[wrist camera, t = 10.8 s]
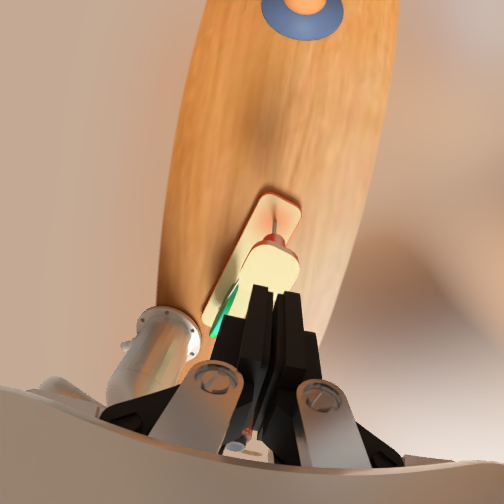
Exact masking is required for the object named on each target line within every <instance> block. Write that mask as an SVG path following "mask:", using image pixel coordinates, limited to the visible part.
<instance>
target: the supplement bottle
mask: <svg viewBox="0 0 504 504" xmlns="http://www.w3.org/2000/svg"><path fill="white" fill-rule="evenodd" d="M253 415H254V411H253V414H252V417H251V419H250V422H249V425H248V428H247V429H244V428H243V431H242V434H241V437H240V438H238V439H236V440H234V441H232V442H230V443H228V444H227V445H226V449H228V450H230V451H234V452H240V451H243V450H244V449H245V446H246V443H248V442H249V441H250V440H251V437H252V431H253V430H252V424H253Z"/></svg>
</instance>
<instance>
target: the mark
mask: <svg viewBox="0 0 504 504" xmlns="http://www.w3.org/2000/svg"><path fill="white" fill-rule="evenodd" d="M261 6H262V12H263V15H264V18H265V19H266V21H267V23H268V24H269V25H270V26H271V27H272V28H273V29H274V30H276V31H277V32H279V33H280V34H282V35H284V36H287V37H289V38H292V39H297V40H317V39H321V38H324V37H326V36H328V35H330V34H331V33H333V32H334V31H335V30H336V29H337V28H338V27H339V25H340V24H341V22H342V19H343V5H342V2H341V0H326V4H325V6H324V7H323V8H322V9H321V10H320V11H319V12H317V13H315V14H311V15H302V14H298V13H295V12H293V11H292V10H290V9H289V8H288V7H287V5H286V4H285V2H284V0H262V5H261Z"/></svg>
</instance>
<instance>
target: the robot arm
mask: <svg viewBox="0 0 504 504" xmlns="http://www.w3.org/2000/svg"><path fill="white" fill-rule="evenodd" d="M201 343H202V337H201V333H200V330H199V328H198V326H197V325H196V323H195V322H194V321H193V320H192V319H191V318H190V317H189V316H188V315H186V314H185V313H184V312H182V311H180V310H178V309H175V308H172V307H168V306H155V307H151V308H149V309H147V310H146V311H145V312H144V313H143V314H142V315H141V316H140V318H139V319H138V322H137V336H136V337H135V338H133V339H132V341H126V342H122V343H121V349H122V351H124V352H127V353H126V355H125V356H124V358H123V359H122V361H121V362H120V364H119V366H118V367H117V369H116V370H115V372H114V373H113V375H112V376H111V378H110V380H109V382H108V385H107V388H106V403H107V407H106V406H104V405H102V404H101V403H99V402H98V401H96V400H95V399H93V398H92V397H90V396H89V395H87V394H86V393H84V392H83V391H81V390H80V389H79V388H77V387H76V386H74V385H73V384H71V383H70V382H68V381H67V380H65V379H63V378H61V377H50V378H48V379H47V380H45V381H44V382H43V383H42V384H41V385H40V386H39V388H38V389H31V390H27V391H23V390H20V389H15V388H9V387H4V386H0V504H504V464H503V463H499V462H494V461H481V460H477V461H458V462H454V461H452V460H443V459H433V458H426V457H418V456H411V455H404V456H403V457H401V456H400V455H399V454H398V453H397V452H396V451H395V450H394V449H392V448H390V447H389V446H388V445H387V444H385V443H384V442H383V441H381V440H380V439H378V438H377V437H376V436H374V435H373V434H372V433H370V432H369V431H368V430H366V429H365V428H364V427H362V426H361V425H360V424H358V423H357V422H356V421H355V420H354V417H353V414H352V411H351V409H350V406H349V404H348V401H347V398H346V396H345V394H344V393H343V391H342V390H341V389H340V388H339V387H338V386H336V385H334V384H333V383H331V382H328V381H326V380H322V374H321V367H320V360H319V352H318V345H317V339H316V334H315V333H314V332H309V331H304V328H303V318H302V308H301V298H300V294H299V293H294V292H289V291H284V293H283V294H279V293H278V294H277V297H276V301H275V305H274V308H273V292H270V291H268V287H265V286H261V285H256V284H253V287H252V292H251V296H250V300H249V305H248V309H247V313H246V318H245V319H244V318H239V317H234V316H230V315H226V314H224V316H223V319H222V322H221V325H220V329H219V332H218V335H217V338H216V342H215V345H214V348H213V351H212V355H211V358H210V360H206V361H201V362H199V363H197V364H195V365H194V366H193V367H192V368H191V369H190V370H189V372H188V374H187V375H186V377H185V378H184V380H183V382H182V383H181V384H179V385H177V382H178V380H179V377H180V375H181V372H182V370H183V367H184V365H185V362H187V361H190V360H191V359H193V358H194V357H195V356H196V355H197V354H198V352H199V350H200V348H201ZM253 411H254V415H253V424H252V430H256V431H258V434H257V440H261V441H262V442H263V443H264V444H265V445H266V446H267V447H268V448H269V450H268V462H269V463H264V462H258V461H251V460H244V459H239V458H233V457H228V456H223V453H224V451H225V448H226V445H227V444H228V443H230V442H232V441H234V440H236V439H238V438H240V437H241V434H242V431H243V428H244V429H247V428H248V425H249V422H250V419H251V417H252V414H253Z"/></svg>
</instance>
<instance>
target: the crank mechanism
mask: <svg viewBox="0 0 504 504" xmlns="http://www.w3.org/2000/svg"><path fill="white" fill-rule="evenodd" d="M301 218H302V212H301V209H300V207H299V206H298V205H297V204H295V203H293V202H291V201H289V200H287V199H285V198H283V197H281V196H280V195H278V194H276V193H273V192H266V193H264V194H262V195H261V197H260V198H259V200H258V202H257V204H256V206H255V208H254V210H253V212H252V214H251V216H250V218H249V220H248V222H247V224H246V226H245V228H244V230H243V232H242V234H241V236H240V238H239V240H238V242H237V244H236V246H235V248H234V250H233V252H232V254H231V256H230V258H229V260H228V262H227V264H226V266H225V268H224V270H223V272H222V274H221V276H220V278H219V280H218V282H217V284H216V286H215V288H214V290H213V292H212V294H211V296H210V298H209V300H208V302H207V304H206V306H205V308H204V310H203V313H202V315H201V320H202V322H203V323H204V324H205V325H207V326H209V327H211V330H210V333H209V336H210V337H213V338H214V337H215V336H216V335H217V334H218V332H219V329H220V325H221V322H222V319H223V316H224V314H226V315H230V316H234V317H239V318H245V316H246V313H247V309H248V305H249V300H250V296H251V292H252V287H253V284H256V285H261V286H265V287H268V291H270V292H273V301H276V297H277V294H278V293H279V294H283V293H284V291H289V290H290V288H291V287H292V285H293V283H294V282H295V280H296V278H297V277H298V274H299V269H300V266H299V261H298V257H297V256H296V254H295V253H294V252H293V251H291V250H290V249H288V248H286V245H287V243H288V242H289V240H290V238H291V236H292V234H293V233H294V231H295V229H296V227H297V226H298V224H299V222H300V220H301Z"/></svg>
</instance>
